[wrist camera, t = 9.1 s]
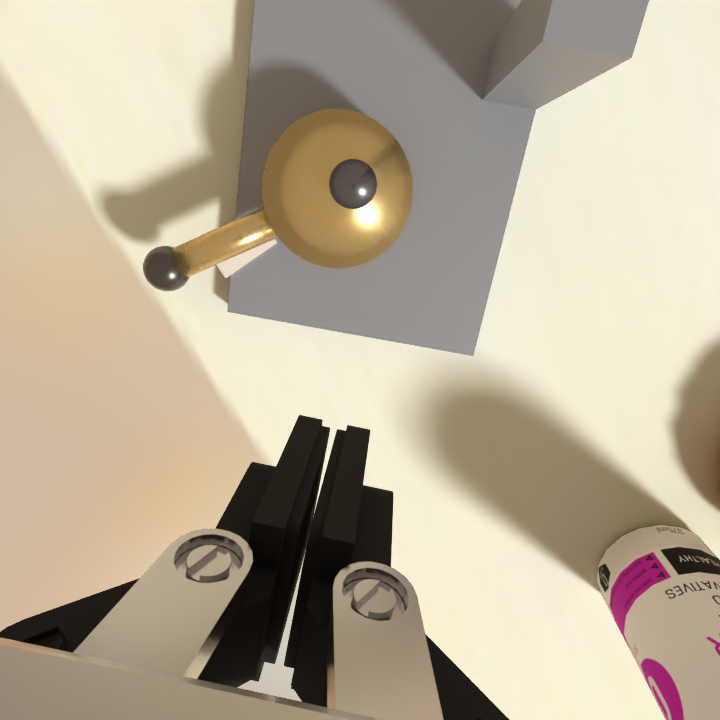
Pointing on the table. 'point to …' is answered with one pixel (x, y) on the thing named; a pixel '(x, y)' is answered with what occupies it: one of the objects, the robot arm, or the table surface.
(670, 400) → the table surface
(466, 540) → the table surface
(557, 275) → the table surface
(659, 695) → the white soda can
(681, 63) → the table surface
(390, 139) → the gold pan with handle
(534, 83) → the stand
